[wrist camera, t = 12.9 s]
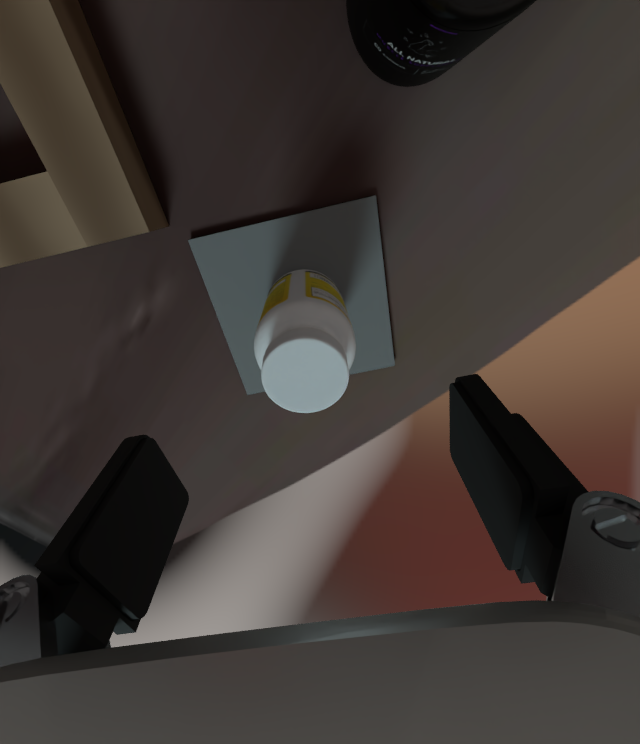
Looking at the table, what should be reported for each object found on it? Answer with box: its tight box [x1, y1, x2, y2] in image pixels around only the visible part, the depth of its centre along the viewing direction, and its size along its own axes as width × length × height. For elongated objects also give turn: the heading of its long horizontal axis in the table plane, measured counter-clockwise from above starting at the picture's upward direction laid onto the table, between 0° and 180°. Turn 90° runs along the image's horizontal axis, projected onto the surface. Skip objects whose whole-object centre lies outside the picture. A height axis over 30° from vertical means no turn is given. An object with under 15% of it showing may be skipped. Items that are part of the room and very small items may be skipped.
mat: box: [188, 195, 395, 395], centre depth 24 cm, size 12×12×1 cm
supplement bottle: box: [254, 269, 356, 413], centre depth 19 cm, size 5×5×10 cm
